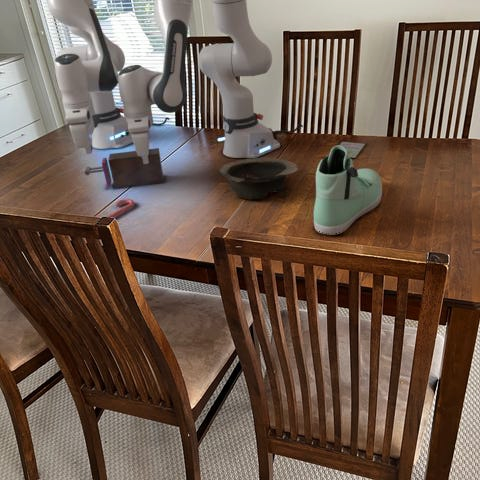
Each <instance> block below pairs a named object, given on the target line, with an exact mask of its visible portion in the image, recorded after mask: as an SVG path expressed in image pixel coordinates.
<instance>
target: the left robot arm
mask: <svg viewBox="0 0 480 480" xmlns="http://www.w3.org/2000/svg"><path fill="white" fill-rule="evenodd" d="M46 2H47V7H48V10H49V12H50V14H51V15H52V16H53V18H54V19H55V20H57V21H58V22H60V23H61V24H62V25H65V26H67V29H68V30H69V32H70V33H72V35H74V36H76V37H79V38H81V39H83V40H84V41H85V43H87V45H75V46H69V47H66V48H65V47H64V48H62V49H60V50H59V51H58V53H57V55H56V58H55V59H54V70H55V73H54V76H55V82H56V85H57V88H58V89H59V91H60V94H61V97H62V99H61V101H62V105H63V109H64V114H65V115H64V116H65V118H64V119H65V122H66V124H67V125H68V126H69V130H70V133H71V137H72V139H73V142H74V145H75V146H76V148H77V149H84V150H85V153H86V154H87V155H91V154H92V153H93V149H98V150H107V149H121V148H122V149H123V148H124V147H127V146H128V145H131V144H132V143H133V139H132V135H131V133H129V131H128V127H127V126H126V122H125V117H124V115H122V114H124V112H123V107H117V106H116V103H115V97H114V94H113V90H114V89H115V88H116V87H118V75H119V72H120V71H121V70H122V69H124V68H125V65H126V57H125V53H124V51H123V50H122V48H121V47H120V46H119V45H118V44H116V43H114V42H113V41H112V40H110V39H109V38H108V37H107V35H105V33H104V31H103V29H102V26H101V23H100V21H99V17H98V15H97V12H96V10H95V8H96V7H95V4H94V0H46ZM167 120H169V121H170V120H171V119H170V118H169V117H165V119H164V121H163V122H159V123H155V122H153V124H152V125H153V126H163V125H165V124H166V123H167ZM152 125H151V126H152ZM133 144H134V143H133Z"/></svg>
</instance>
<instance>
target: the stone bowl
mask: <svg viewBox="0 0 480 480" xmlns="http://www.w3.org/2000/svg"><path fill="white" fill-rule="evenodd" d="M298 170H299V169H298V167H297V166H296V164H295V163H293V162H291V161H289V160H287V159H281V158H272V157H271V158H269V157H256V158H242V159H239V160H235V161H232V162H231V161H230V162H228V163H225V164H223V165H222V166H221V168H220V169H219V170H217V173H219V174H220V175H221V176H223V177H224V178H226V179H227V180H228V182H229V186H230V188H231V190H232V191H234V192H235V193H236V196H237V198H239V199H241V200H243V199H245V200H251V201H252V200H255V199H257V200H262V199H264V198H266V197H267V196H268V193H269V194H273V193H281V192H282V191H284V190H285V189H284V188H285V185H286V183H287V182H286V181H287V177H289V176H290V175H292V174H294V173H296V172H297V171H298Z"/></svg>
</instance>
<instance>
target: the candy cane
mask: <svg viewBox="0 0 480 480" xmlns="http://www.w3.org/2000/svg"><path fill="white" fill-rule="evenodd" d="M124 204H125V206H123V207H121V208H119V209H117V210H115V211H114V212H112V213H110V214H108V215H107V216H106V217H114V218H116V217H118V216H119V215H122V214H123V213H125V212H126V211H128V210H130V209H132V208H133V207H134V206H135V201H134V200H133V199H130V198H123V199H119V200H118V201H116V202H115V206H116V207H120V206H121V205H124Z"/></svg>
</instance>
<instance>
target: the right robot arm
mask: <svg viewBox="0 0 480 480" xmlns="http://www.w3.org/2000/svg"><path fill="white" fill-rule="evenodd" d="M153 1H154V3H153V16H154V17H153V18H154V22H155V24H156V26H157V28H158V29H159V31H160V34H161V36H162V38H163V43H164V44H163V45H164V53H163V64H162V72H160V71H154V70H151V69H148V68H145V67H144V66H142V65H140V64H134V65H133V64H131V65H128V66H126V67H123V69H122V70H121V71H118V84H117V86H118V91H119V96H120V100H121V102H122V105H123V107H122V108H123V112H124V113H123V117H125V122H126V126H127V127H128V131H129V133H131V135H132V139H133V146H134V151H136V153H137V155H138V156H141V157H142V159H143V163H144V164H148V163H149V160H148V155H149V149H150V129H151V126H152V124H153V123H154V118H153V110H152V105H156V107H157V108H158V109H159V110H160V111H162V112H163V113H167V114H173V113H177V112H178V111H179V110H181V109H182V108H183V107H184V106H185V104H186V101H187V97H188V95H187V89H186V84H185V67H186V56H187V47H188V35H189V33H188V32H189V25H190V24H189V23H190V19H191V13H192V8H193V7H192V6H193V5H192V4H193V0H153ZM211 2H212V3H211V4H212V12H213V18H214V19H213V20H214V25H215V27H216V28H217V30H218V31H219V32H221V33H223V34H225V35H227V36H229V38H231V40H232V41H233V42H231V43H230V42H227V43H226V42H225V43H214V44H209V45H207V46H204V47H202V48H201V49H200V52H199V54H198V59H197V60H198V67H199V69H200V71H201V72H202V74H203V75H204V76H206V77H208V78H209V79H210V80H211V81H212V82H213V84H215V86H216V88H217V89H218V91H219V94H220V98H221V102H222V103H221V104H222V110H223V111H222V112H223V116H222V122H223V123H222V124H223V130H224V136H223V137H218V138H217V141H218V142H222V141H224V144H223V149H222V154H223V155H224V156H226V157H229V158H232V159H233V158H234V159H254V158H260V157H261V156H263V155H265V154H268V153H270V152H272V151H275V150H277V149H279V148H281V144H280V142H279V141H278V140H276V139H275V138H276V136H275V134H277V133H282V134H291V133H292V134H293V133H295V132H296V131H298V130H299V128H304V126H303V124H301V123H299V124H298V125H297V126H296V127H295V128H294V129H292V130H272V128H271V127H267V126H266V125H264V124H262V123H261V122H260V121H262V120H263V119H264V114H261V113H256V112H254V95H253V93H252V91H251V90H250V89H249V88H248V87H247V86H245V85H242V83H239V81H238V80H237V78H236V77H239V78H240V77H257V76H259V75H264V74H267V73H268V72H269V70H270V68H271V67H272V63H273V55H272V51H271V49H270V47H269V46H268V45H267V44H265V43H264V42H263V41H262V40H261V39H259V37H258V36H257V35H256V34H255V32H254V31H253V29H252V27H251V24H250V23H251V22H250V20H249V19H250V18H249V13H248V5H247V4H248V3H247V0H211Z"/></svg>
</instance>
